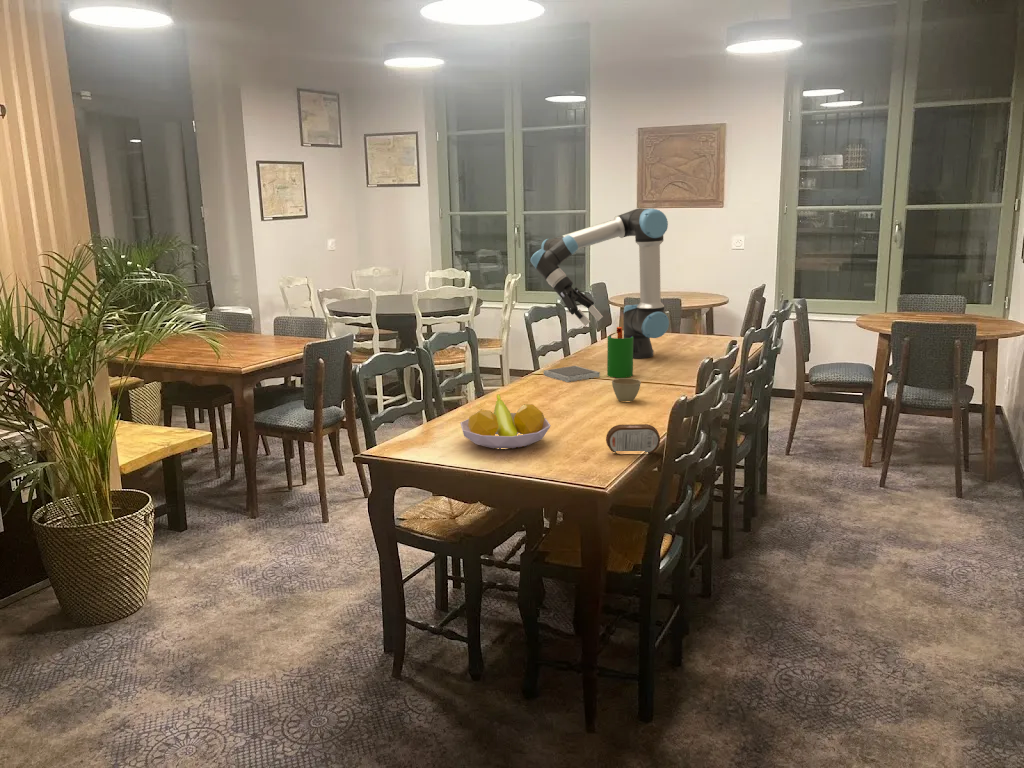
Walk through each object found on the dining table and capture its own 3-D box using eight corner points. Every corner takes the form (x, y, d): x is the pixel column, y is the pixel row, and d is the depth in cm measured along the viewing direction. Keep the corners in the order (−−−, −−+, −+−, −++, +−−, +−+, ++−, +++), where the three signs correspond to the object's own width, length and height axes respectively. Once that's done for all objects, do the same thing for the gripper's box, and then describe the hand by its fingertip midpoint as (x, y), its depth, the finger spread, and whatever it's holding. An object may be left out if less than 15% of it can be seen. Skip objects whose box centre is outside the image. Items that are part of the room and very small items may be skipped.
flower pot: (629, 405, 288) (630, 385, 286) (606, 401, 295) (606, 381, 293) (646, 400, 295) (646, 380, 293) (622, 396, 302) (622, 376, 300)
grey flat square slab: (575, 370, 346) (575, 365, 346) (599, 376, 333) (599, 371, 333) (543, 375, 338) (543, 370, 337) (567, 382, 325) (567, 376, 324)
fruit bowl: (544, 458, 233) (544, 418, 230) (450, 454, 238) (448, 415, 235) (557, 430, 260) (557, 395, 257) (471, 427, 264) (470, 392, 262)
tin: (658, 451, 237) (659, 422, 235) (660, 455, 234) (661, 425, 232) (605, 453, 237) (605, 424, 235) (607, 456, 234) (607, 427, 232)
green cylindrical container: (632, 373, 339) (633, 324, 334) (633, 378, 330) (634, 328, 326) (607, 373, 340) (607, 324, 335) (607, 378, 331) (607, 328, 327)
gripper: (566, 285, 351) (599, 323, 347) (540, 291, 329) (575, 332, 326) (578, 273, 347) (611, 310, 344) (553, 278, 325) (588, 319, 322)
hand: (594, 321), depth 335 cm, fingers open, 13 cm apart
